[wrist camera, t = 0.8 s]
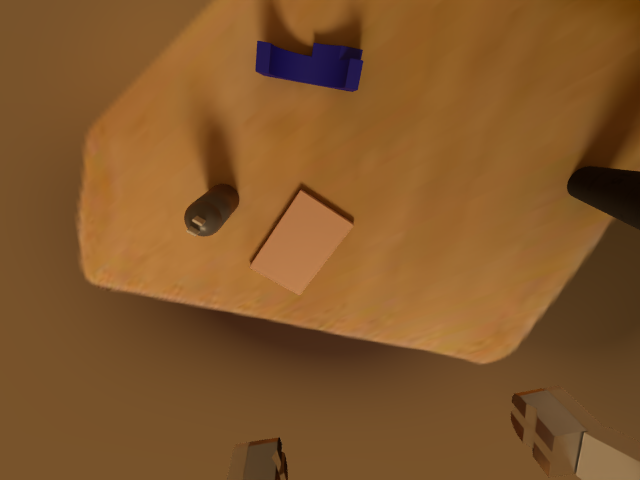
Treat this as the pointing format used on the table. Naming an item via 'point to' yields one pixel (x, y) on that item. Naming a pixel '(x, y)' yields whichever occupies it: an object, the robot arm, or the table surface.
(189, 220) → the charger plug
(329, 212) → the board
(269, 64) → the blue u-shaped bracket
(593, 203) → the drinking cup
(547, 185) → the table surface
